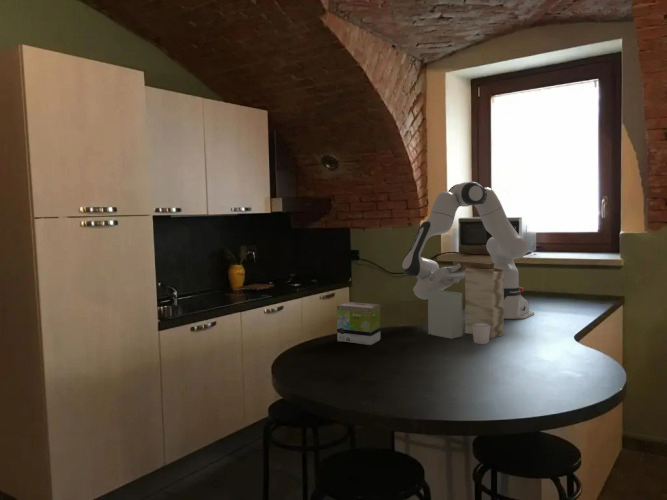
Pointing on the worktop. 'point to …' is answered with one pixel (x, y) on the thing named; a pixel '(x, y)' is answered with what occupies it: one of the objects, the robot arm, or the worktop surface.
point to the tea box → (358, 323)
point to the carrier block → (445, 314)
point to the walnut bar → (474, 265)
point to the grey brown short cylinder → (481, 333)
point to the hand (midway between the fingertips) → (464, 264)
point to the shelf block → (485, 299)
